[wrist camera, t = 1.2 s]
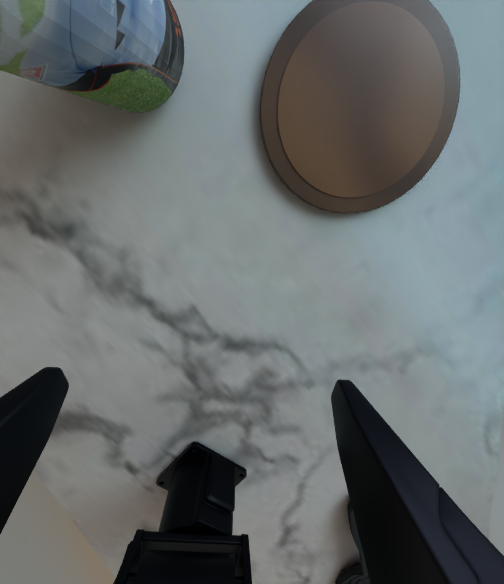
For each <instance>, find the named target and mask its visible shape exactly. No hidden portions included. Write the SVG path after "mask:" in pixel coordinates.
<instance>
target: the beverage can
mask: <svg viewBox="0 0 504 584" xmlns="http://www.w3.org/2000/svg"><path fill="white" fill-rule="evenodd" d="M183 64H184V40H183V34H182V29H181V25H180V22H179V19H178V16H177V14H176V11H175V9H174V7H173V5H172V3H171V1H170V0H0V70H2V71H5V72H8V73H11V74H14V75H17V76H20V77H23V78H26V79H29V80H32V81H35V82H38V83H42V84H45V85H48V86H51V87H54V88H57V89H60V90H63V91H66V92H69V93H72V94H75V95H78V96H81V97H85V98H88V99H91V100H94V101H97V102H100V103H103V104H106V105H109V106H112V107H115V108H118V109H121V110H124V111H129V112H147V111H151V110H153V109H155V108H157V107H159V106H161V105H162V104H163V103H164V102H166V101H167V100H168V98H169V97H170V96H171V95H172V94H173V92H174V90H175V89H176V87H177V85H178V82H179V80H180V77H181V74H182V69H183Z"/></svg>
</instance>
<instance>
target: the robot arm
mask: <svg viewBox="0 0 504 584" xmlns="http://www.w3.org/2000/svg"><path fill="white" fill-rule="evenodd" d="M68 388H69V384H68V381H67V379H66V377H65V375H64V373H63V371H62V370H61V369H60V368H58V367H46V368H43V369H42V370H40V371H39V372H37V373H36V374H34V375H33V376H31V377H30V378H29V379H27V380H26V381H24V382H23V383H21V384H20V385H18V386H17V387H15V388H14V389H12V390H11V391H9V392H8V393H7V394H5V395H4V396H2V397H1V398H0V534H1V532H2V530H3V528H4V526H5V524H6V522H7V520H8V518H9V516H10V514H11V512H12V510H13V508H14V506H15V504H16V502H17V500H18V498H19V496H20V494H21V492H22V490H23V488H24V486H25V485H26V483H27V481H28V479H29V477H30V475H31V473H32V471H33V469H34V467H35V465H36V463H37V461H38V459H39V457H40V455H41V453H42V451H43V449H44V447H45V445H46V443H47V441H48V439H49V437H50V435H51V432H52V430H53V427H54V425H55V422H56V420H57V417H58V415H59V412H60V409H61V407H62V404H63V402H64V399H65V397H66V394H67V391H68ZM331 402H332V409H333V417H334V425H335V432H336V440H337V446H338V451H339V456H340V460H341V464H342V468H343V472H344V476H345V481H346V485H347V489H348V493H349V497H350V501H351V505H352V510H353V514H354V518H355V522H356V526H357V530H358V534H359V538H360V543H361V547H362V551H363V555H364V559H365V563H366V567H367V572H368V576H369V580H370V584H504V556H503V555H502V554H501V553H500V552H499V551H498V550H497V549H496V548H495V546H494V545H493V544H492V543H491V542H490V541H489V540H488V539H487V538H486V537H485V536H484V535H483V534H482V533H481V532H480V530H479V529H478V528H477V527H476V526H475V525H474V524H473V523H472V522H471V521H470V520H469V518H468V517H467V516H466V515H465V514H464V513H463V512H462V510H461V509H460V508H459V507H458V506H457V505H456V504H455V503H454V501H453V500H452V499H451V498H450V497H449V496H448V494H447V493H446V492H445V491H444V490H443V488H441V487H440V488H439V484H438V483H437V482H436V480H435V479H434V478H433V477H432V476H431V474H430V473H429V472H428V471H427V470H426V469H425V467H424V466H423V465H422V464H421V463H420V462H419V460H418V459H417V458H416V457H415V456H414V454H413V453H412V452H411V451H410V450H409V449H408V447H407V446H406V445H405V444H404V443H403V442H402V440H401V439H400V438H399V437H398V436H397V434H396V433H395V432H394V431H393V430H392V429H391V427H390V426H389V425H388V424H387V423H386V422H385V420H384V419H383V418H382V417H381V416H380V414H379V413H378V412H377V411H376V410H375V409H374V407H373V406H372V405H371V404H370V403H369V402H368V400H367V399H366V398H365V397H364V396H363V394H362V393H361V392H360V391H359V390H358V389H357V387H356V386H355V385H354V384H353V383H352V382H351V381H350V380H337V382H336V384H335V387H334V389H333V392H332V395H331ZM246 475H247V472H246V469H245V468H243V467H241V466H239V465H238V464H236V463H234V462H232V461H231V460H229V459H227V458H225V457H223V456H222V455H220V454H218V453H216V452H215V451H213V450H211V449H209V448H207V447H206V446H204V445H202V444H200V443H198V442H193V443H191V444H190V445H189V446H188V447H187V448H186V449H185V450H184V451H183V452H182V453H181V454H180V455H179V456H178V457H177V459H176V460H175V461H174V462H173V463H172V464H171V465H170V466H169V467H168V468H167V469H166V470H165V471H164V472H163V473H162V474H161V475H160V476H159V477H158V479H157V482H156V484H157V485H158V486H160V487H162V488H164V489H166V490H168V494H167V498H166V502H165V506H164V511H163V515H162V519H161V523H160V527H159V531H158V532H152V531H144V530H141V529H137V531H136V534H135V536H134V539H133V541H131V542H130V544H128V547H127V550H126V553H125V556H124V559H123V562H122V565H121V567H120V570H119V572H118V575H117V577H116V579H115V581H114V583H113V584H252V577H251V564H250V551H249V538H248V535H247V534H241V536H237V535H232V527H233V511H234V509H235V486H236V485H238V484H239V483H240V482H241V481H242V480H243V479H244V478H245V477H246Z"/></svg>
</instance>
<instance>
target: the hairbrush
mask: <svg viewBox="0 0 504 584" xmlns="http://www.w3.org/2000/svg"><path fill="white" fill-rule="evenodd" d="M348 517H349V525H350V530H351V533H352V536H353V538H354V541H355V543H356V546H357V548H358V550H359V554H360V560H361V565H358V566H353V567H351V568H349V569H347V570H345V571H343V572H341V573H340V575H339V577H338V578H337V580H336V582H335V584H370V580H369V576H368V572H367V567H366V563H365V559H364V555H363V551H362V547H361V543H360V538H359V534H358V530H357V527H356V522H355V518H354V514H353V510H352V505H351V501H350V502H349V504H348Z"/></svg>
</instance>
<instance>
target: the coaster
mask: <svg viewBox="0 0 504 584" xmlns="http://www.w3.org/2000/svg"><path fill="white" fill-rule="evenodd" d="M459 93H460V68H459V61H458V54H457V51H456V47H455V43H454V40H453V37H452V35H451V33H450V30H449V28H448V26H447V24H446V23H445V21H444V19H443V18H442V16H441V14H440V13H439V12H438V11H437V9H436V8H435V7H434V6H433V5H432V3H431V2H430V1H428V0H313V1H312V2H310V3H309V4H308V5H307V6H306V7H305V8H304V9H303V10H302V11H301V12H300V13H299V14H298V15H297V16H296V17H295V18H294V19H293V21H292V22H291V23H290V24H289V26H288V27H287V28H286V30H285V31H284V33H283V35H282V36H281V38H280V40H279V41H278V43H277V45H276V47H275V49H274V52H273V54H272V56H271V58H270V61H269V64H268V67H267V70H266V73H265V78H264V83H263V88H262V93H261V103H260V123H261V131H262V137H263V141H264V145H265V149H266V152H267V155H268V157H269V160H270V162H271V164H272V166H273V168H274V170H275V172H276V173H277V175H278V176H279V178H280V179H281V180H282V182H283V183H284V184H285V185H286V186H287V187H288V188H289V189H290V191H291V192H293V193H294V194H295V195H296V196H298V197H299V198H300V199H302V200H303V201H305V202H307V203H308V204H310V205H312V206H315V207H317V208H320V209H323V210H327V211H331V212H338V213H359V212H365V211H369V210H373V209H376V208H379V207H381V206H384V205H386V204H388V203H390V202H392V201H394V200H395V199H397V198H399V197H400V196H402V195H403V194H405V193H406V192H407V191H409V190H410V189H411V188H412V187H413V186H414V185H415V184H417V183H418V182H419V181H420V180H421V179H422V178H423V176H424V175H425V174H426V173H427V172H428V171H429V169H430V168H431V167H432V165H433V164H434V162H435V161H436V160H437V158H438V157H439V155H440V153H441V151H442V149H443V148H444V146H445V144H446V142H447V139H448V137H449V135H450V132H451V130H452V126H453V123H454V120H455V117H456V112H457V107H458V102H459Z"/></svg>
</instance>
